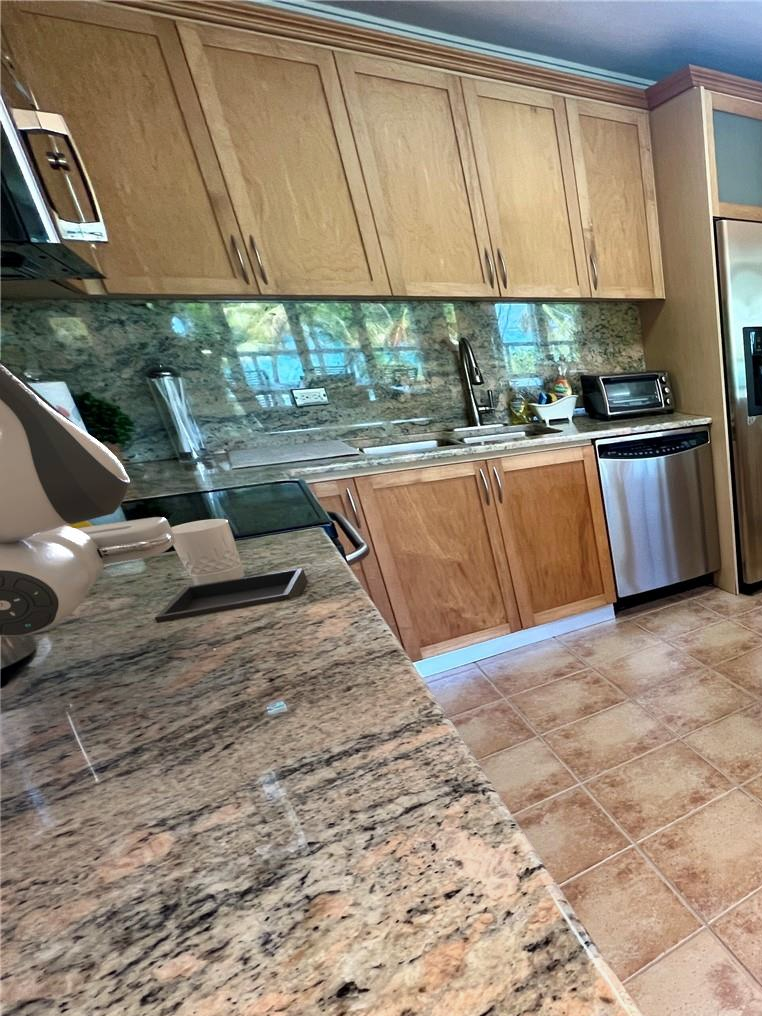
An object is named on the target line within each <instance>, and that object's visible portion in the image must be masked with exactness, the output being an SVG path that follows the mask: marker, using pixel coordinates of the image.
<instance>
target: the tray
mask: <svg viewBox="0 0 762 1016" xmlns="http://www.w3.org/2000/svg"><path fill="white" fill-rule="evenodd" d="M307 584H308V578H307V576H306V573H305V570H304V567H300V568H294V569H289V570H282V571H275V572H270V573H264V574H256V575H251V576H245V577H243V578H237V579H231V580H225V581H219V582H212V583H206V584H200V585H195V584H194V585H188V586H187V585H186V586H184V587H183V588H182V589H181V590H180V591H179V592H178V593H176V595H175V596H174V597H173V598H172V599H171V600H170V601H169V602H168V603H167V604H166V605H165V606H164V607H163V608H162V609H161V610H160V611H159V612H158V613H157V614H156V616H154V620H155V621H156V623H157V624H158V623H163V622H169V621H175V620H181V619H182V620H183V619H186V618H187V619H188V618H192V617H198V616H203V615H204V616H205V615H210V614H214V613H220V612H226V611H232V610H237V609H243V608H249V607H256V606H260V605H267V604H273V603H279V602H284V601H289V600H291V599H295V598H300V597H301V595H302V594H303V592H304V590H305V588H306V586H307Z"/></svg>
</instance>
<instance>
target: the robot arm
mask: <svg viewBox="0 0 762 1016" xmlns="http://www.w3.org/2000/svg"><path fill="white" fill-rule="evenodd" d="M130 482H131V480H130V477H129V475H128V474H127V472H126V470H125V468H124V466H123V465H122V463H121V461H120V460H119V459H118V458H117V456H115V455H114V453H112V452H111V451H110V450H109V448H108V447H106V446H105V445H104V444H103V443H101V442H100V441H99V440H97V439H96V438H95V437H93V436H92V435H90V433H87V432H86V431H85V430H83V428H81V427H80V426H78V425H77V424H75V423H74V422H73V421H72V420H71V419H69V418H68V417H67V416H66V415H64V414H63V413H62V412H61V411H60V410H58V409H57V408H56V407H55V406H54V405H53V404H52V403H50V401H48V400H47V399H46V398H44V396H42V395H41V394H40V393H39V392H38V391H37V390H36V389H34V387H32V386H31V385H30V384H29V383H28V382H27V381H25V379H23V378H22V377H21V376H20V375H19V374H18V373H16V371H14V370H13V369H12V368H11V367H10V366H8V365H7V363H6V362H4V361H3V360H2V359H1V358H0V637H20V636H21V637H22V636H26V635H32V634H37V633H40V632H42V631H46V630H48V629H49V628H52V627H54V626H56V625H57V624H59V623H60V622H62V621H63V620H65V619H66V618H67V617H69V615H71V614H72V613H73V612H74V611H76V609H77V608H78V607H79V606H80V605H81V603H82V602H83V601H84V600H85V598H86V596H87V594H88V593H89V592H90V591H91V590H92V588H93V587H94V585H95V584H96V583H97V581H98V580H99V579H100V577H101V576H102V574H103V571H104V568H105V565H109V564H115V563H121V562H126V561H133V560H140V559H144V558H149V557H154V556H158V555H160V554H163V553H165V552H166V551H168V550H169V549H170V548H171V547H173V544H174V543H175V537H174V534H173V532H172V529H171V527H172V526H171V525H170V523H169V521H168V519H166V518H165V517H162V516H161V517H160V516H153V517H147V518H139V519H131V520H126V521H125V520H124V521H119V522H113V523H106V524H104V523H103V524H99V525H98V524H97V525H94V526H90V527H83V528H76V529H74V528H72V527H69V526H66V525H68V524H76V523H79V522H83V521H91V520H95V519H99V518H102V517H106V516H110V515H114V514H115V513H116V512H117V510H118V509H119V508H120V506H121V505H122V503H123V502H124V500H125V498H126V495H127V493H128V490H129V488H130Z"/></svg>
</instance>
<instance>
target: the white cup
mask: <svg viewBox="0 0 762 1016" xmlns="http://www.w3.org/2000/svg"><path fill="white" fill-rule="evenodd" d="M170 527H171V529H172V532H173V534H174V537H175V543H174V544H173V545H172V547H173V548H174V550H175V552H176V553H177V555H178V557H179V559H180V561H181V563H182V565H183V567H184V569H185V571H186V572H187V573H188V574H189V576H190V578H191V580H192V582H193V584H194V585H200V584H206V583H212V582H219V581H225V580H231V579H237V578H244V577H246V574H245V572H244V569H243V566H242V563H241V561H242V558H241V557H240V553H239V550H238V548H237V544H236V541H235V538H234V535H233V532H232V529H231V526H230V523H229V521H228V520H227V519H225V518H212V519H211V518H210V519H202V520H201V519H200V520H195V521H191V522H186V523H181V524H178V525H174V526H170Z"/></svg>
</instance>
